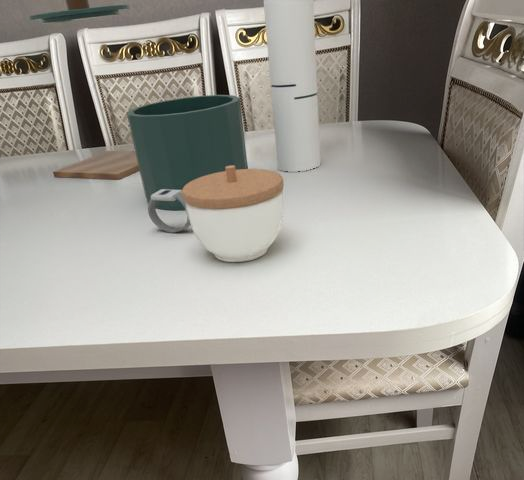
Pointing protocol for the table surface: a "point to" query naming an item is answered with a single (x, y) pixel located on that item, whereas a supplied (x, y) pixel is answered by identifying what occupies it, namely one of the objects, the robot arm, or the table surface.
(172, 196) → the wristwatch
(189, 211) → the trinket box
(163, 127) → the canister
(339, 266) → the table surface
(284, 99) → the cylindrical container
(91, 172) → the board
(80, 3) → the lid
